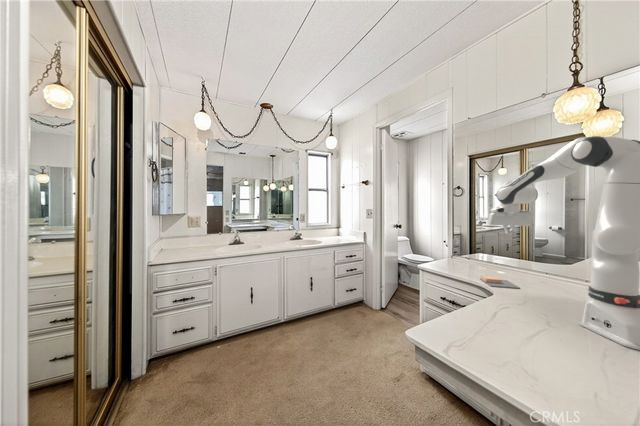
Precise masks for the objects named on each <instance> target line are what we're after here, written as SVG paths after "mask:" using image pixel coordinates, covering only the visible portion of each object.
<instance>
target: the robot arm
mask: <svg viewBox="0 0 640 426" xmlns="http://www.w3.org/2000/svg"><path fill="white" fill-rule="evenodd" d="M585 166H587V167H588V166H590V167H594V168H596V167H597V168H598V167H599V168H603V169H604V170H605V172H606V173H605V178H604V182H603V187H602V192H601V196H600V201H599V205H598V211H597V216H596V217H597V218H596V223H595V228H594V229H593V230H592V233H591V259H590V260H591V262H590V263H591V264H590V265H591V267H590V269H591V271H590V286H588V289H587V291H588V292H587V294H588V295H587V296H589V297H588V300H587V302H586V303H585V305H584V310H583V315H582V320H581V321H579V323H578V324H579V326H581V327H583V328H585V329H587V330H589V331H592V332H594V333H595V334H598V335H600V336H602V337H604V338H606V339H609V340H611V341H613V342H615V343H617V344H620V345H622V346H624V347H627V348H630V349H634V350H638V351H640V294H639V291H640V287H639V286H640V265H639V264H640V263H639V251H640V140H636V139H627V138H623V137H622V138H621V137H616V136H600V135H599V136H597V135H596V136H595V135H594V136H581V137H578V138H575V139H574V140H572V141H570V142H569V143H567V144H565V146H563V147H562V148H560V149H559V150H558V151H556V152H555V153H554V154H553V155H551V156H550V157H548V158H547V159H546V160H544V161H542V162H541V163H539V164H537V165H536V166H535V165H534V166H533V167H531V168H530V169H528V170H526V171H525V172H524V173H522V174H521V175H519V176H518V177H517V178H515V179H514V180H510V181H509V180H508V181H505V182H504V183H502V185H501V186H500V188H499V189H497V192H496V198H497V200H498V202H500V204H499V205H500V206H497V207H494V208H493V207H492V208H491V209H490V213H489V214H488V221H487V223H488V225H490V226H502V228H503V230H504V233H505V234H509V235H511V234H512V235H513V231H514V230H515V229H516V227H530V226H531V225H532V219H531V217H532V213H531V211H530V210H528V209H521V206H520V205H524V204H526V205H527V204H533V203H534V202H535V201H536V200H537V199H538V198H539V193H538V190H537V188H536V187H535V186H531V185H533V184H535V183H539V182H543V181H549V180H558V179H563V178H566V177H568V176H571V175H572V174H575V173H576V172H577V171H579V170H580V169H582V168H583V167H585ZM508 226H509V227H510V229H508Z"/></svg>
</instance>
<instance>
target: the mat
mask: <svg viewBox="0 0 640 426" xmlns="http://www.w3.org/2000/svg"><path fill="white" fill-rule="evenodd" d="M479 280H481V281H482V282H483V283H485V284H487V285H488V286H490V287H491V288H504V289H518V290H520V289H521V287H519V285H517V284H514V283H512V282H511V281H509V280H507V279H501V280H502V283H490V282H485V281H483V280H482V277H480V279H479Z"/></svg>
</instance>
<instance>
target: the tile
mask: <svg viewBox="0 0 640 426" xmlns="http://www.w3.org/2000/svg"><path fill="white" fill-rule="evenodd" d="M481 278H482V280H483V281H482V280H481V281H482V282H484V281H485V282H490V283H502V280H503V279H501V278H499V277H498V276H488V275H481ZM485 282H484V283H485Z"/></svg>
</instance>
